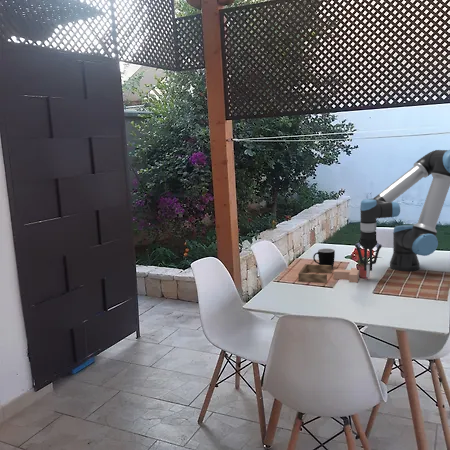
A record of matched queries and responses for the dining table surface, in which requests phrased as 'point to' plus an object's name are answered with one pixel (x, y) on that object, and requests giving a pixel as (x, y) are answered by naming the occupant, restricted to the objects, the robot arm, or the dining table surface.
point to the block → (347, 274)
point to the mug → (325, 256)
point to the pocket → (314, 277)
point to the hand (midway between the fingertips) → (368, 276)
